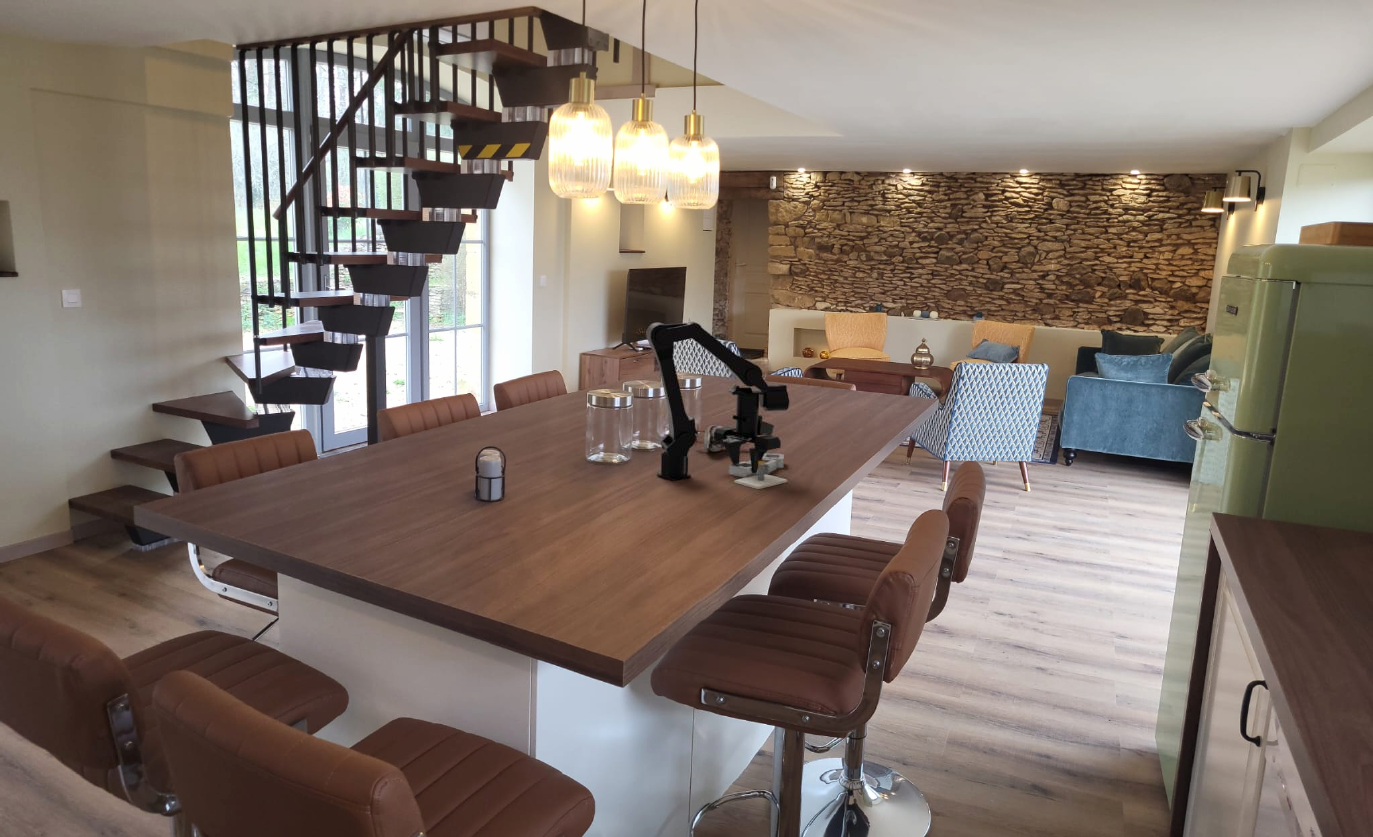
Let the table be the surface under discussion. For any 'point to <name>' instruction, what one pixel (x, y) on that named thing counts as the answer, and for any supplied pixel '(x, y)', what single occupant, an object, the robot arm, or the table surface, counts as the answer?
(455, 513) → the table surface
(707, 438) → the decorative duck model
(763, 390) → the robot arm
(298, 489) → the table surface
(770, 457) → the grey square frame
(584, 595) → the table surface
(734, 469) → the end link
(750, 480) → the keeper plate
